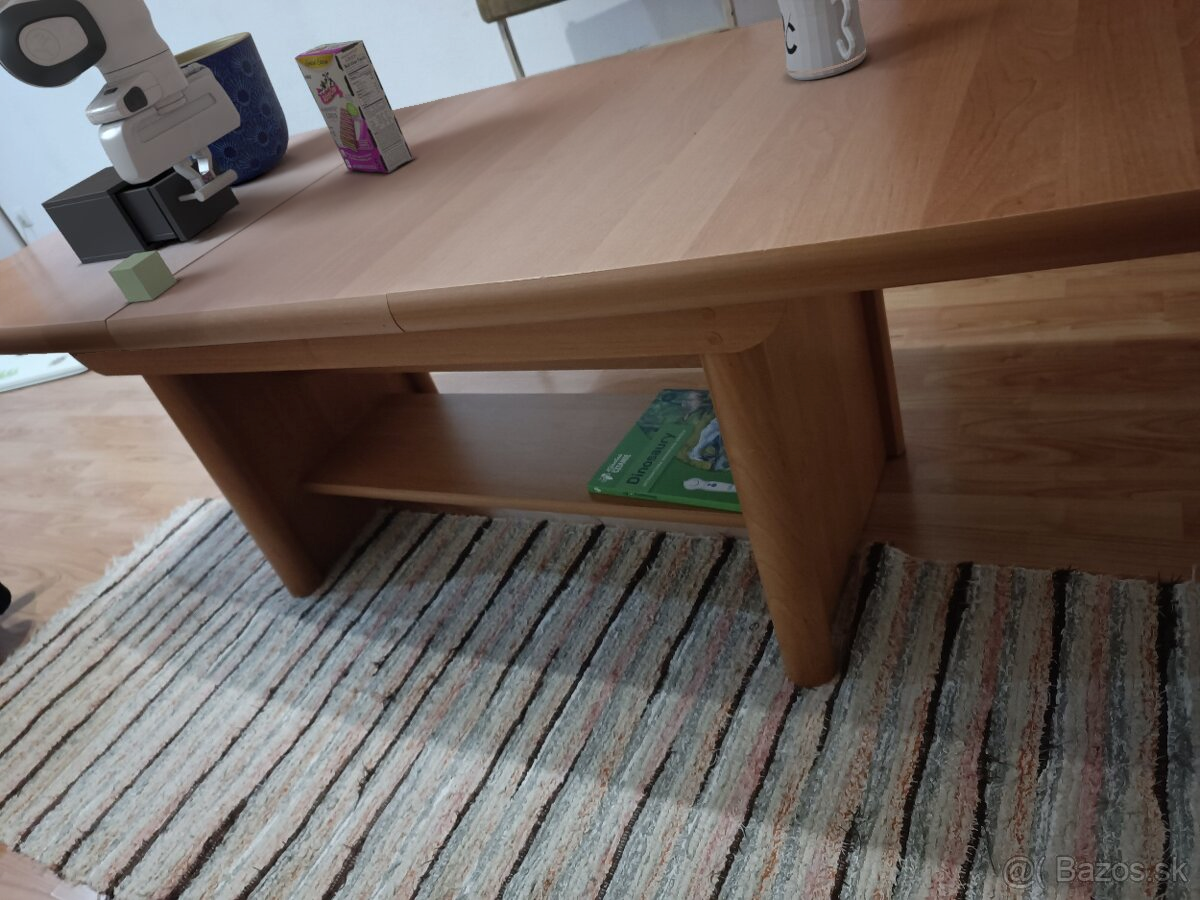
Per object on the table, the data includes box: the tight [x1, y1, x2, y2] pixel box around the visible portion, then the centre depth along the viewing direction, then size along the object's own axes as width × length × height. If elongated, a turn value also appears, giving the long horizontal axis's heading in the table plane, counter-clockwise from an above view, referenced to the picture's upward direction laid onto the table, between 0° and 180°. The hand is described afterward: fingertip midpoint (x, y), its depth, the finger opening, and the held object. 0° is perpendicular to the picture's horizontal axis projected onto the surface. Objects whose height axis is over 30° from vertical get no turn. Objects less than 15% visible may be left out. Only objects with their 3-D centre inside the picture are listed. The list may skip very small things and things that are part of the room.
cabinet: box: [40, 165, 170, 264], centre depth 128 cm, size 15×13×10 cm
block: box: [107, 249, 178, 303], centre depth 106 cm, size 4×4×4 cm
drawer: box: [114, 154, 240, 243], centre depth 123 cm, size 18×11×8 cm, turn 69°
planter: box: [173, 31, 290, 187], centre depth 140 cm, size 21×21×19 cm
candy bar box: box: [294, 39, 414, 174], centre depth 119 cm, size 11×5×16 cm, turn 47°
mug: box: [777, 0, 868, 81], centre depth 96 cm, size 12×9×10 cm
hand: (207, 186), depth 119 cm, fingers closed
